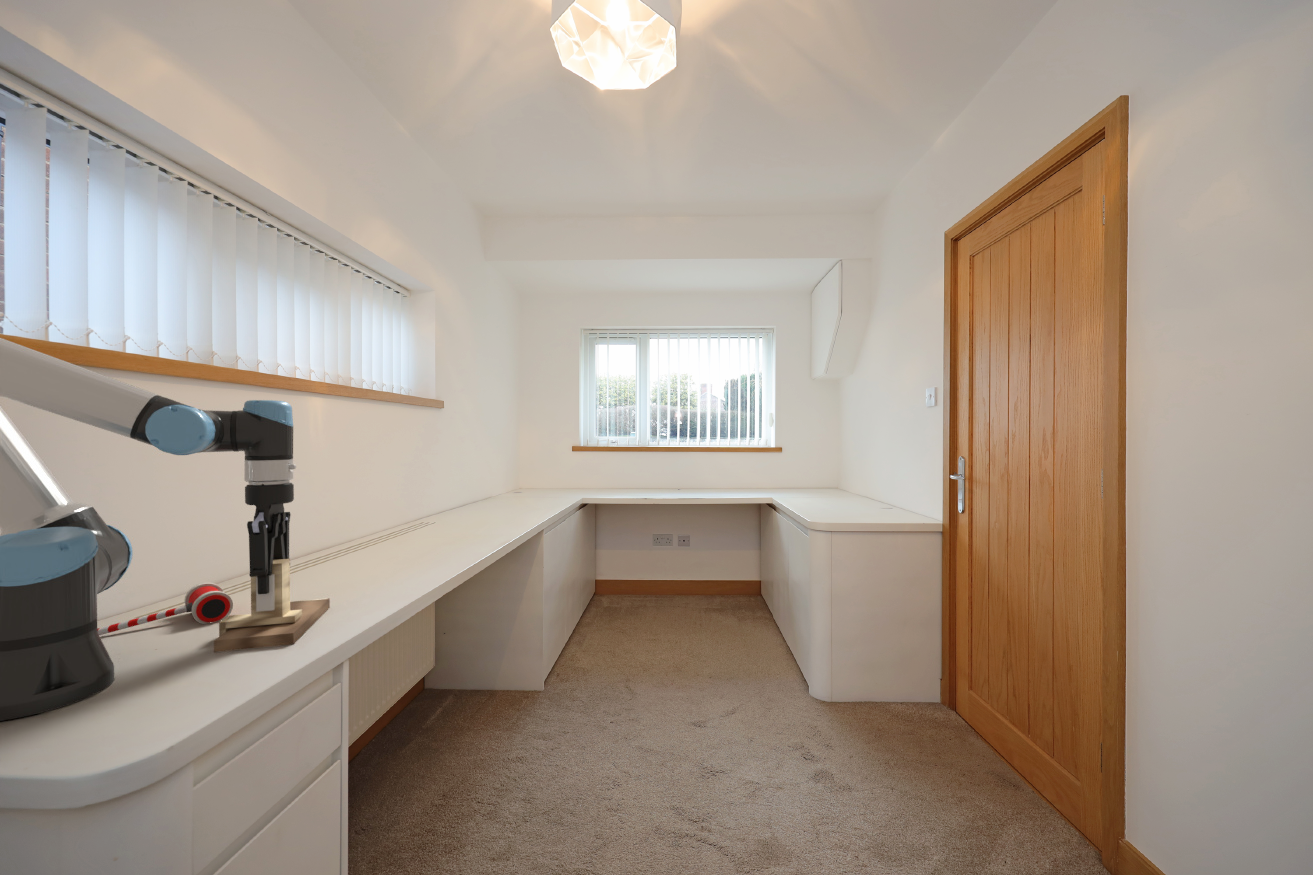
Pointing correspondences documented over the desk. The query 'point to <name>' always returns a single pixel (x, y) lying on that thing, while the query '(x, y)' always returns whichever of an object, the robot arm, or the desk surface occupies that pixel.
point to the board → (273, 629)
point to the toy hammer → (188, 608)
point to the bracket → (281, 603)
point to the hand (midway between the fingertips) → (271, 606)
